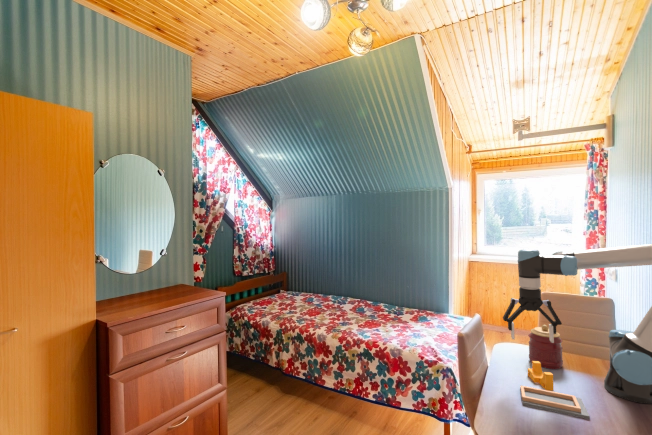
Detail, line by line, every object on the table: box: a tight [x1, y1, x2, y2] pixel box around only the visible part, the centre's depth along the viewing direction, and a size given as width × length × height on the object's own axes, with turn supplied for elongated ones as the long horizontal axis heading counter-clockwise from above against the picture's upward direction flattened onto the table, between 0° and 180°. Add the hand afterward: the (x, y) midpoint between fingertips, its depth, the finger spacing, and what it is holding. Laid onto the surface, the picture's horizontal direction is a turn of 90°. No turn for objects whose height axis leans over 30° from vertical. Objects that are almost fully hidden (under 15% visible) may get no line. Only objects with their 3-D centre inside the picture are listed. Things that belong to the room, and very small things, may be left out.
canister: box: [528, 324, 564, 370], centre depth 148 cm, size 13×13×18 cm
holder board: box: [519, 385, 591, 420], centre depth 117 cm, size 19×12×2 cm, turn 63°
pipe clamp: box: [527, 361, 554, 392], centre depth 131 cm, size 12×4×6 cm, turn 170°
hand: (532, 340), depth 131 cm, fingers open, 13 cm apart
